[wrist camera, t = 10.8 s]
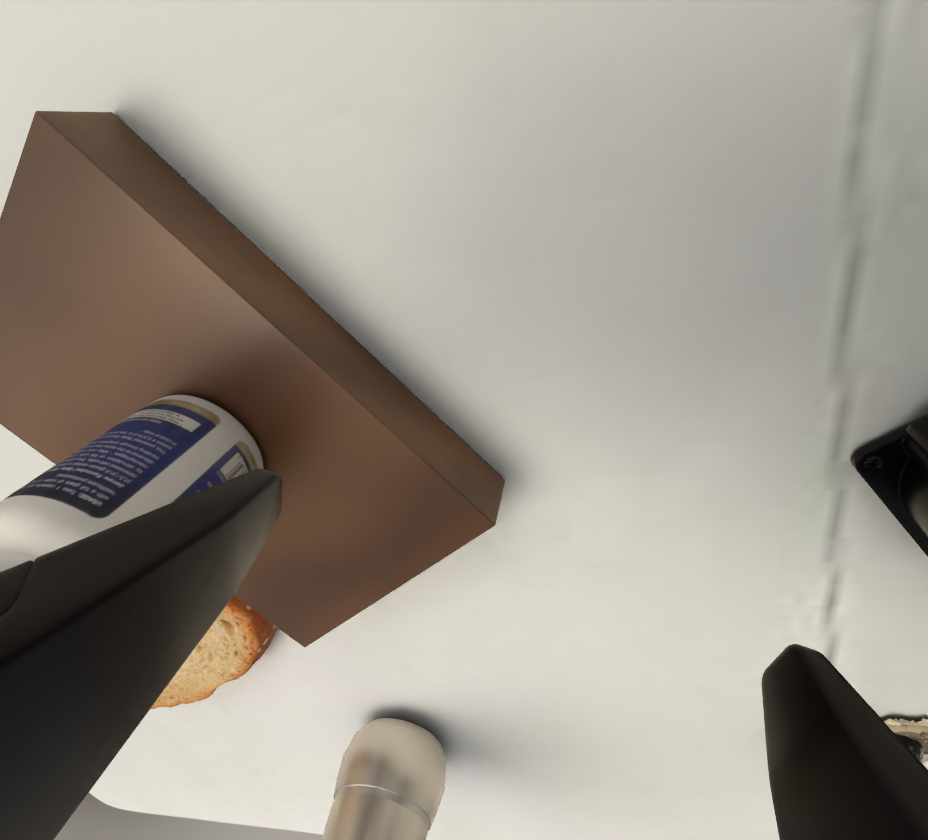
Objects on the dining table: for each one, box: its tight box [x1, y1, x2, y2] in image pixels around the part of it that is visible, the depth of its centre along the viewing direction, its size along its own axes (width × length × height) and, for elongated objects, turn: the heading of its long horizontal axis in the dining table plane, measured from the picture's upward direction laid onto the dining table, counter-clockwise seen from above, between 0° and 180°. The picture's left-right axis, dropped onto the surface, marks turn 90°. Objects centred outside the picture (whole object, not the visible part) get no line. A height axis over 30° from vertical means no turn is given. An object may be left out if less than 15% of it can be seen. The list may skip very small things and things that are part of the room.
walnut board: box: [0, 111, 505, 647], centre depth 22 cm, size 20×14×3 cm
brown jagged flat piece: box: [884, 718, 928, 763], centre depth 25 cm, size 7×8×2 cm
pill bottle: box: [0, 395, 264, 572], centre depth 17 cm, size 5×5×10 cm
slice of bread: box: [150, 595, 276, 709], centre depth 32 cm, size 18×18×4 cm
